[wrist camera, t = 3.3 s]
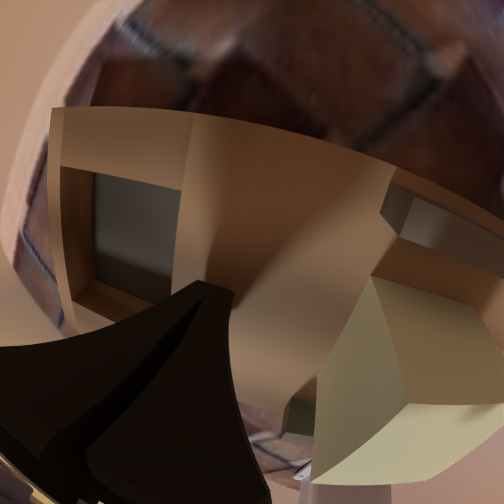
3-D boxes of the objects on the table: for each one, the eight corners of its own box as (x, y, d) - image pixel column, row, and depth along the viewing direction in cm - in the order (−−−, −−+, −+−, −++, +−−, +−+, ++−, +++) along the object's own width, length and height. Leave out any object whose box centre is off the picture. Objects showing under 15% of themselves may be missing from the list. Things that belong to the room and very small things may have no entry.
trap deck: (476, 400, 13) (490, 443, 9) (90, 305, 15) (48, 346, 11) (564, 266, 8) (601, 302, 4) (88, 106, 10) (16, 111, 6)
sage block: (411, 389, 10) (428, 479, 6) (317, 374, 10) (309, 482, 6) (472, 306, 8) (527, 400, 3) (369, 275, 8) (408, 403, 4)
